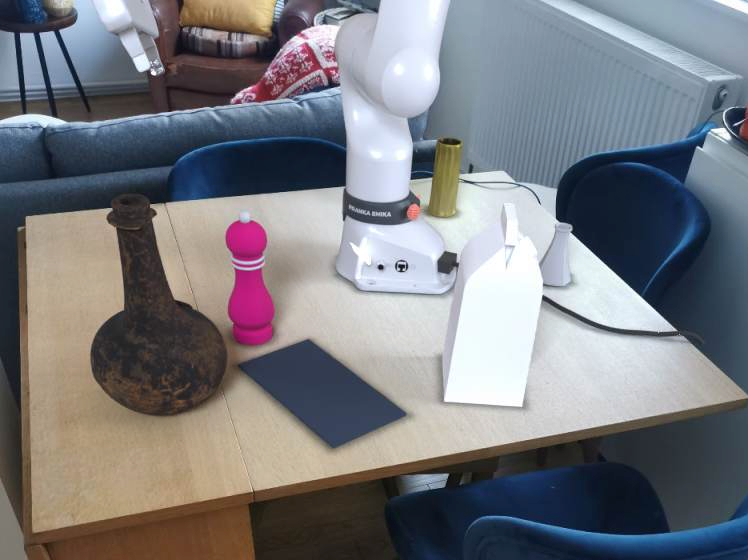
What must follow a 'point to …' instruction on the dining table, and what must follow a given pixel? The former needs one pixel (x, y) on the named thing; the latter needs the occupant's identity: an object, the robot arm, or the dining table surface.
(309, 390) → the mat
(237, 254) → the pepper mill
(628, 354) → the dining table surface
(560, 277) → the flask
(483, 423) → the dining table surface
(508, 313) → the milk
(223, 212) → the dining table surface
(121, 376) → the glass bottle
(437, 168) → the vase
